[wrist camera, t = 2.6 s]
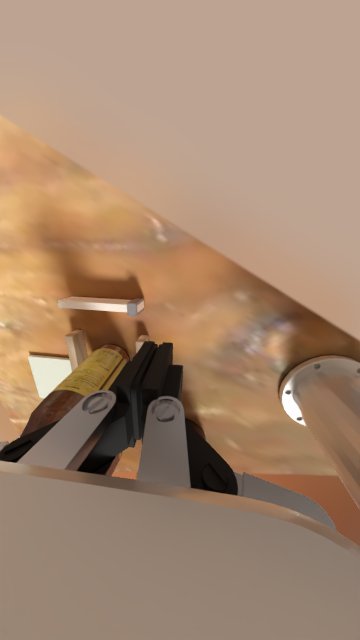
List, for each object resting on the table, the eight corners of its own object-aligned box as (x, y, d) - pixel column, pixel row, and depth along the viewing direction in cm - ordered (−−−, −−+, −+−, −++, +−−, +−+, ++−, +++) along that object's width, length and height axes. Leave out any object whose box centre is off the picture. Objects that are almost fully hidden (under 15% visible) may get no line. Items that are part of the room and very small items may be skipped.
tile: (78, 359, 30) (76, 361, 29) (86, 400, 33) (84, 403, 32) (30, 354, 31) (27, 356, 30) (42, 395, 34) (39, 397, 33)
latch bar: (143, 298, 25) (135, 303, 22) (144, 309, 25) (136, 316, 22) (71, 294, 26) (54, 298, 23) (73, 304, 26) (56, 310, 23)
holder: (148, 335, 27) (140, 347, 23) (150, 393, 31) (143, 412, 27) (76, 329, 28) (56, 340, 24) (86, 386, 32) (70, 403, 28)
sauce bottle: (89, 351, 29) (-110, 512, 11) (118, 336, 28) (-54, 494, 9) (111, 381, 31) (-28, 568, 12) (140, 368, 29) (32, 561, 10)
